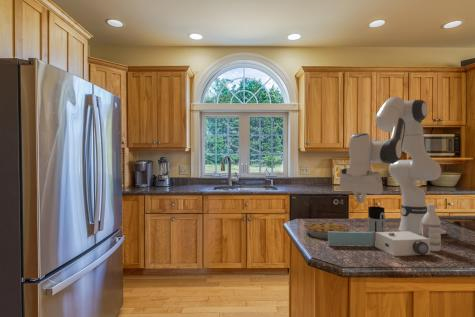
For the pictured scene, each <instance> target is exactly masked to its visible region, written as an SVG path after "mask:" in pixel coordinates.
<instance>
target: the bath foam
mask: <svg viewBox="0 0 475 317" xmlns="http://www.w3.org/2000/svg"><path fill="white" fill-rule="evenodd" d="M426 205H427V206H426V207H427V213H426V214H425V215H424V217H423V219H422V235H421V236H423V237H426V238H428V239H430V252H440V251H441V248H442V244H441V243H442V241H441V240H442V239H441V238H442V234H441V229H442V225H441V219H440V217H439V215H437V212H436V204H435V203H427V204H426Z"/></svg>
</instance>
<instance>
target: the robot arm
mask: <svg viewBox="0 0 475 317" xmlns="http://www.w3.org/2000/svg"><path fill="white" fill-rule="evenodd" d="M428 111H429V109H428V104H427V103H426V102H425V101H424V100H423V99H415V100H404V99H402V98H401V97H399V96H391V97H389V98H387V99H386V100H385V102H383V104H382V105H381V106H380V108H379V109H378V111H377V113H376V115H375V118H374V120H375V125H376V126H377V127H378V128H379V129H380V130H382V131H383V132H386V133H391V136H390V139H387V140H385V139H384V140H371V138H370V134H369V133H366V132H360V133H355V134H352V135H350V138H349V141H348V143H349V145H348V156H349V162H348V166H346V167H343V168H341V169H340V170H339V173H340V176H339V188H340V190H342V191H348V192H353V195H354V197H355V201H356V203H361V204H364V203H365V199H366V197H367V194H370V195H371V194H372V195H381V194H382V193H383V192H384V188H383V187H384V186H383V180H382V175H381V173H379V171H377V170H376V171H372V164H373V163H374V164H375V163H376V164H379V163H380V164H389V165H388V172H389V175H390V177H391V178H393V179H394V180H395V181H396V182H397V184H398V185H399V188H400V191H401V204H400V214H401V217H400V223H399V227H398V231H399V232H401V231H409V232H412V233H415V234H417V235H420V236H422V219H423V217H424V215H425V214H426V213H427V206H426V192H425V191H424V189H423V188H422V187H419V186H418V185H417V184H416V182H415V181H424V182H427V181H437V179H439V177H440V176H441V174H442V168H441V165H440V164H439V163H438V162H437V161H435V160H434V159H433V158H432V157H431V156H430V155H429V153H428V152H427V150H426V146H425V138H424V137H425V136H424V126H423V123H422V122H423V121H424V120H425V118H426V117H428V113H429V112H428ZM402 152H403V153H405V154H407V155H409V156H410V158H411V159H401V158H402ZM360 195H361V196H360ZM446 234H447V231H446V230H444V229H442V228H441V235H446Z"/></svg>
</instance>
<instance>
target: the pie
mask: <svg viewBox="0 0 475 317" xmlns="http://www.w3.org/2000/svg"><path fill="white" fill-rule="evenodd" d="M305 229H306V230H307V232H308V234H309V236H311V237H314V238H318V239H327V240H328V231H330V232H350V229H349V227H348V226H345V225H343V224H342V225H341V224H340V223H332V222H329V223H328V222H315V223H313V222H311V223H309V224H307V225H306V227H305Z"/></svg>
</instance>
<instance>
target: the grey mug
mask: <svg viewBox="0 0 475 317" xmlns="http://www.w3.org/2000/svg"><path fill="white" fill-rule="evenodd" d="M367 208H368V210H367V212H368V213H367V232H372V231H374V232H375V240H376V232H386V215H385V207H383V206H376V205H375V206H368V207H367Z"/></svg>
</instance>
